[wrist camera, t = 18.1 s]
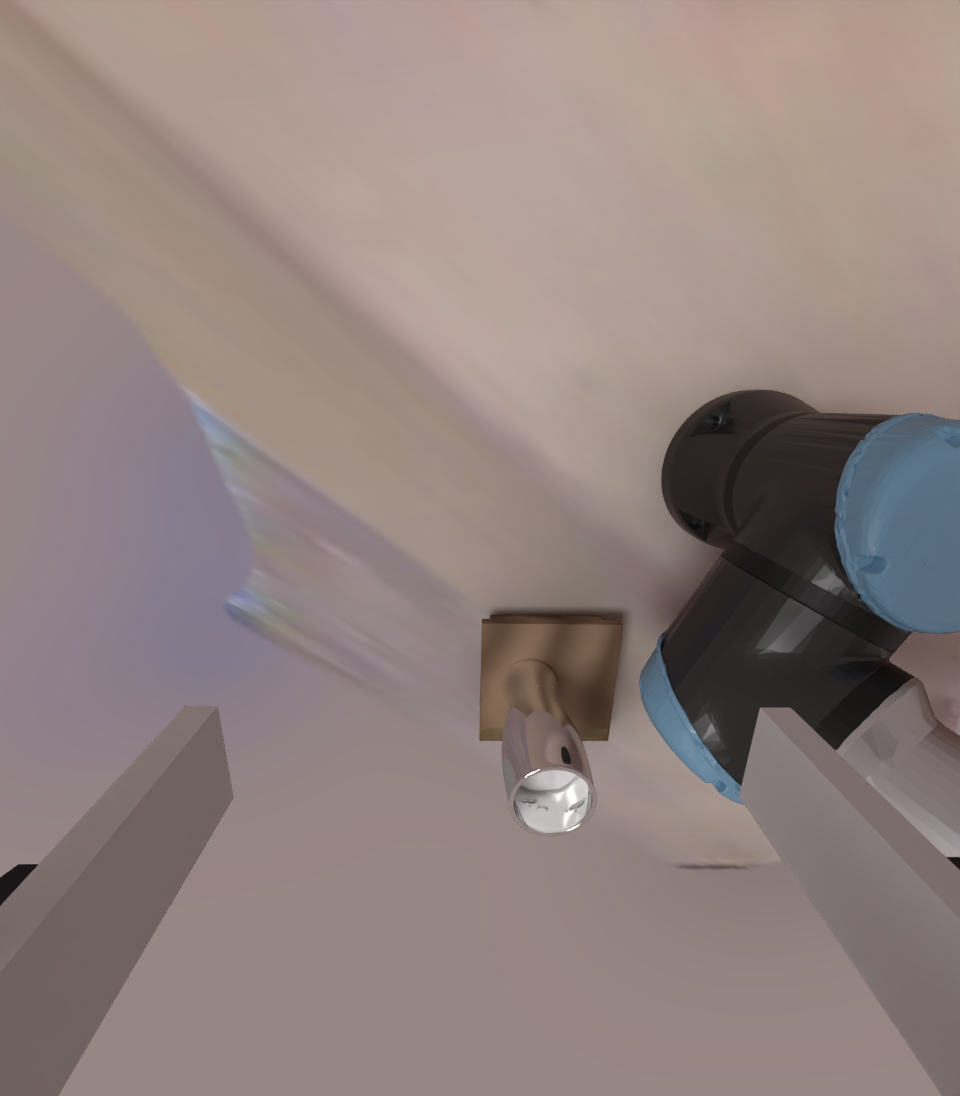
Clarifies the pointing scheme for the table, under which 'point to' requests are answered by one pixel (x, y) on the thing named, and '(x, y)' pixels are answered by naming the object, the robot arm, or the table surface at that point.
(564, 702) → the dock
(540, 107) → the table surface
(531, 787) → the beer glass
